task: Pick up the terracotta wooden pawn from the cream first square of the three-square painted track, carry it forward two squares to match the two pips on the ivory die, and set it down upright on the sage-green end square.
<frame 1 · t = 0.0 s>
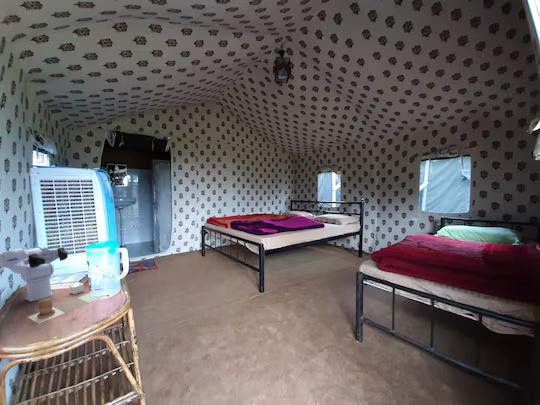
hand: (55, 258, 103), 22 cm above the table, fingers open, 7 cm apart
pawn: (46, 314, 99), resting on board
die: (77, 292, 119), on the table
board: (71, 306, 106), on the table
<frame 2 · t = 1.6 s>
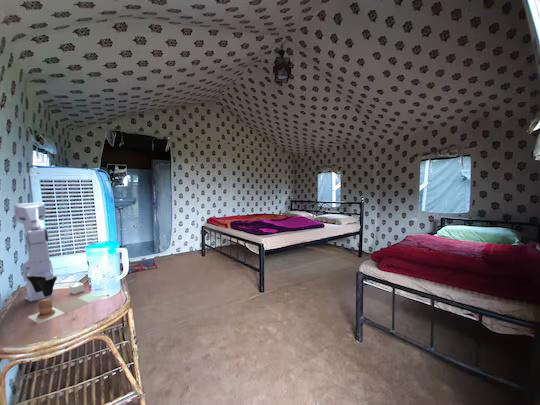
hand: (43, 293, 98), 9 cm above the table, fingers open, 7 cm apart
nothing on the table moved.
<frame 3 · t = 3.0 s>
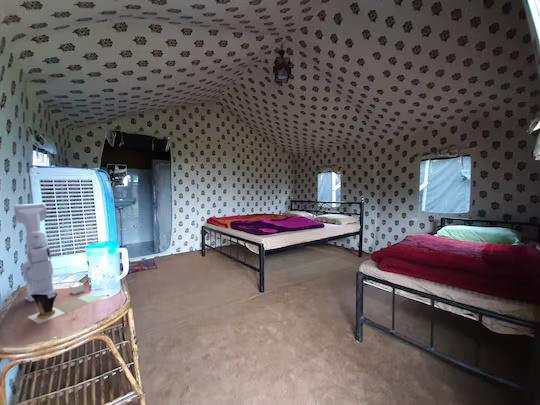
hand: (45, 310, 99), 2 cm above the table, fingers closed on pawn, 4 cm apart
pawn: (46, 314, 99), resting on board, touching gripper
everything else where it was.
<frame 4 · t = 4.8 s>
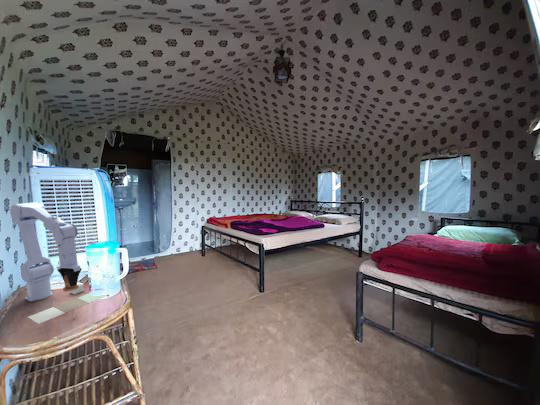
hand: (71, 284, 106), 9 cm above the table, fingers closed on pawn, 4 cm apart
pawn: (71, 288, 106), point 8 cm above the table, touching gripper
everything else where it was.
when the fingers open (3 cm above the table, at t = 6.8 s): pawn drops 1 cm, resting on board.
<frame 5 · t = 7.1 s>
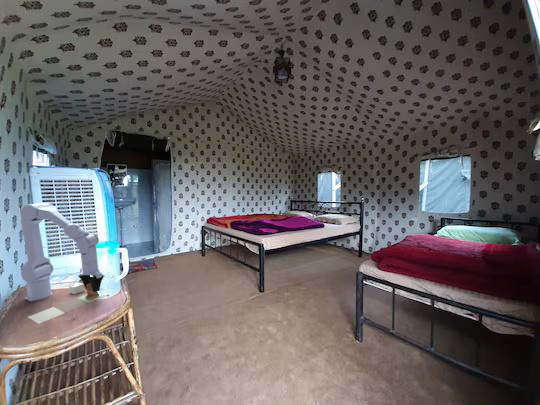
hand: (92, 289, 113), 4 cm above the table, fingers open, 6 cm apart
pawn: (92, 296, 114), point 1 cm above the table, touching board
everything else where it was.
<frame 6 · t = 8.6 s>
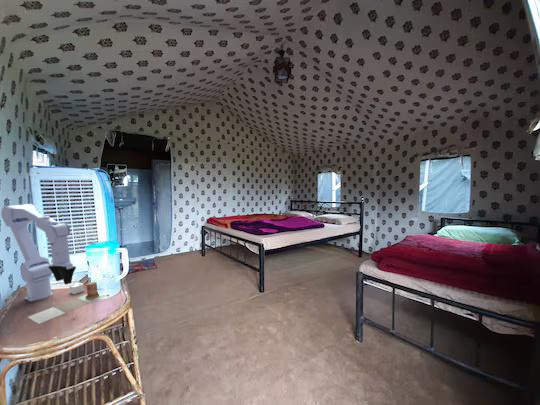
hand: (63, 281, 109), 9 cm above the table, fingers open, 7 cm apart
nothing on the table moved.
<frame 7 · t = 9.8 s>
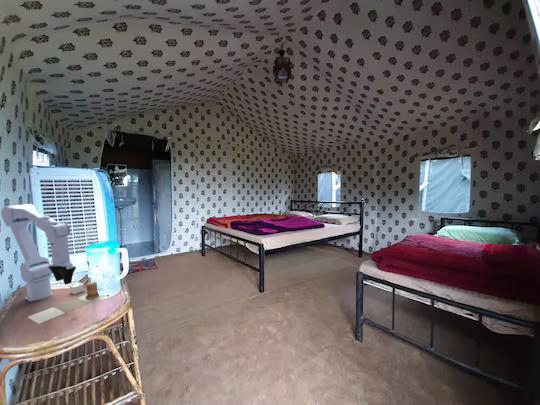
hand: (63, 281, 109), 9 cm above the table, fingers open, 7 cm apart
nothing on the table moved.
at the end: pawn inside the target area (0.2 cm from its centre), point 0.5 cm above the table; pawn tilted 0°; the gripper is holding nothing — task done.
